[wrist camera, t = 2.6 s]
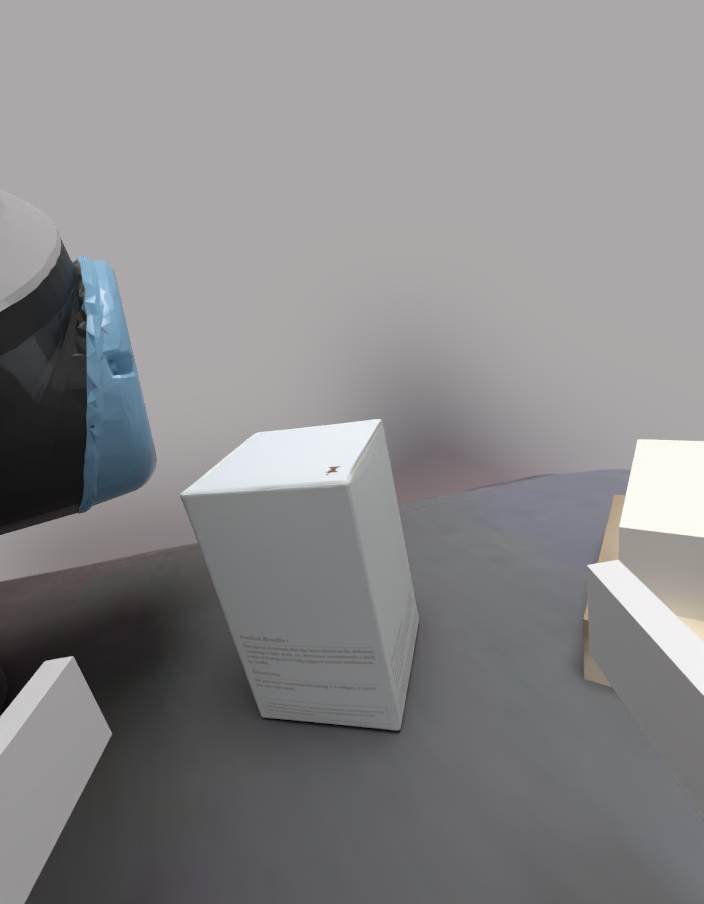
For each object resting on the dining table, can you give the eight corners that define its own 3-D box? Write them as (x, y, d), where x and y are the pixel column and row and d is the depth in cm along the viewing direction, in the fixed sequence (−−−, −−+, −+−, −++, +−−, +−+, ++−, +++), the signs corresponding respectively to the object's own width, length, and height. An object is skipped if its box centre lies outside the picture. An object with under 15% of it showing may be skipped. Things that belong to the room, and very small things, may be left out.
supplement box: (422, 619, 27) (388, 414, 23) (401, 737, 20) (347, 481, 16) (306, 615, 29) (255, 428, 25) (254, 720, 23) (173, 491, 18)
